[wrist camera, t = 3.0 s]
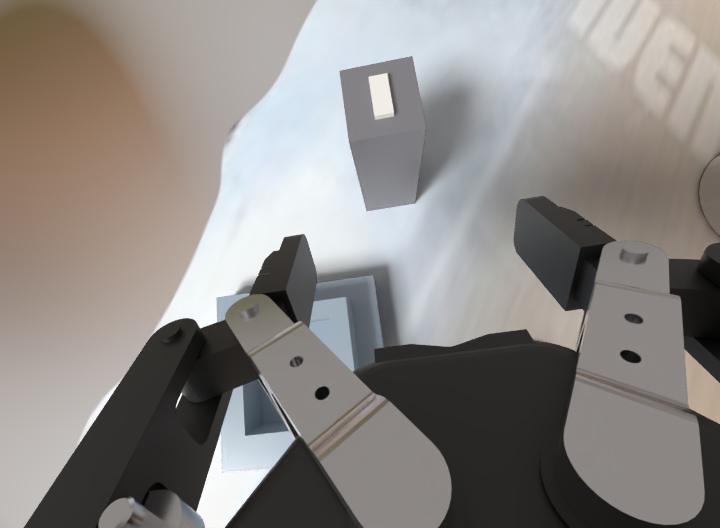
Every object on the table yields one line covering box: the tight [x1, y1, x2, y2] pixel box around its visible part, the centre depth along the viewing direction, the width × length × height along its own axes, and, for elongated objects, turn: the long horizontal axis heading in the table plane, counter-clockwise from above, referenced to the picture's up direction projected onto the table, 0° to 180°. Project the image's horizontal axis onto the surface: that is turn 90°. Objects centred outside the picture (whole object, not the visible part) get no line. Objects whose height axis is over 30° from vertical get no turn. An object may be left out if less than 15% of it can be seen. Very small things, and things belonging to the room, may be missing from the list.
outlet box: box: [217, 275, 384, 473], centre depth 22 cm, size 12×12×4 cm
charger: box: [340, 56, 426, 211], centre depth 21 cm, size 4×4×10 cm
